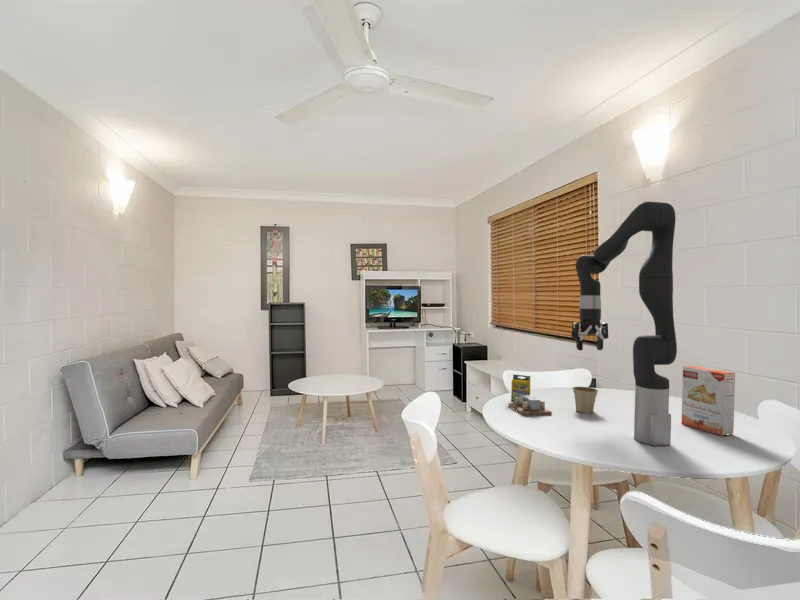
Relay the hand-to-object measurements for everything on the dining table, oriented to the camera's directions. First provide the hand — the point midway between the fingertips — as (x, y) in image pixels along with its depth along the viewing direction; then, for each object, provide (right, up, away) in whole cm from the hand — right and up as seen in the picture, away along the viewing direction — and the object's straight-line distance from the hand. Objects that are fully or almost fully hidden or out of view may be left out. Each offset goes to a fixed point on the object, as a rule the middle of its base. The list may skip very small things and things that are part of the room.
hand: (589, 350), depth 163 cm
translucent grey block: (-22, -23, +5) cm, 32 cm away
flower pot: (0, -25, +5) cm, 25 cm away
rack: (-22, -24, +5) cm, 33 cm away
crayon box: (-22, -24, +16) cm, 36 cm away
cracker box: (+33, -26, -16) cm, 45 cm away
